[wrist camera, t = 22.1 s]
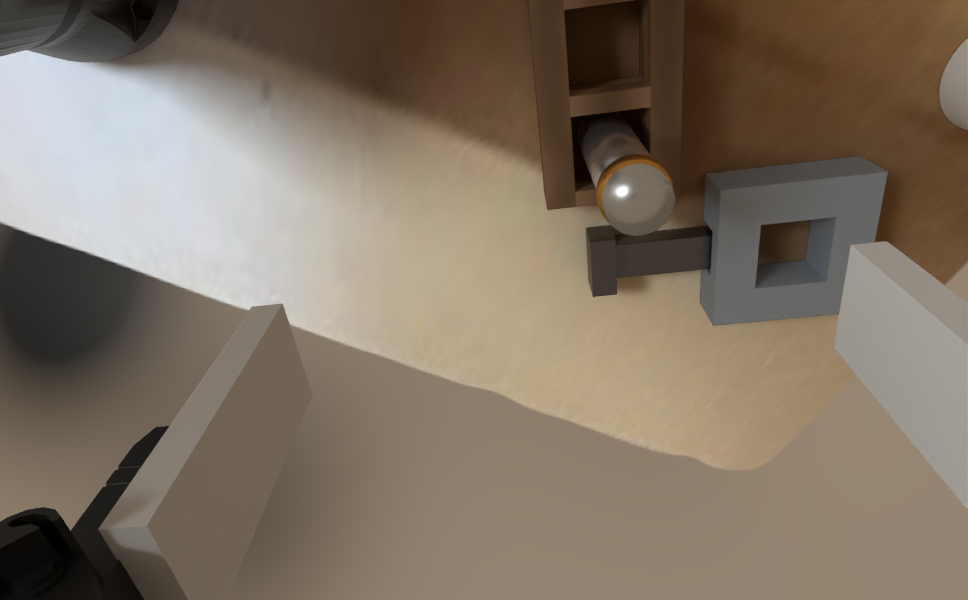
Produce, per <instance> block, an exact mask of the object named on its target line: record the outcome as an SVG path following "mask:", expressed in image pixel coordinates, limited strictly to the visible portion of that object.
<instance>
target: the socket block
mask: <svg viewBox="0 0 968 600" xmlns="http://www.w3.org/2000/svg"><path fill="white" fill-rule="evenodd" d="M887 174H888V171H886V170H884V169H883V168H881V167H879V166H877V165H876V164H874V163H872V162H871V161H869V160H867V159H865V158H864V157H862V156H855V157H846V158H837V159H829V160H820V161H811V162H802V163H794V164H785V165H776V166H768V167H759V168H750V169H741V170H733V171H724V172H715V173H706V177H705V199H704V221H705V222H706V224H707V225H708V226H709V228H710V229H711V230H712V232H713V236H712V255H711V269H701V290H700V303H701V305H702V307H703V309H704V310H705V312H706V314H707V316H708V318H709V319H710V321H711V323H712V325H713V326H715V325H726V324H736V323H747V322H758V321H768V320H779V319H789V318H800V317H810V316H821V315H832V314H839V312H840V306H841V300H842V294H843V288H844V282H845V277H846V271H847V265H848V259H849V253H850V247H851V245H855V244H865V243H874V242H875V237H876V232H877V227H878V222H879V216H880V211H881V206H882V201H883V195H884V190H885V185H886V180H887ZM804 220H811V223H810V231H809V238H808V245H807V253H806V260H801V261H791V262H781V263H771V264H761V265H757V263H758V252H759V241H760V230H761V225H767V224H776V223H785V222H795V221H804Z"/></svg>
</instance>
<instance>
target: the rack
mask: <svg viewBox="0 0 968 600" xmlns="http://www.w3.org/2000/svg"><path fill="white" fill-rule="evenodd" d="M626 1H633V0H528V9H529V20H530V32H531V43H532V55H533V67H534V78H535V90H536V101H537V113H538V125H539V136H540V148H541V159H542V171H543V182H544V193H545V199H546V205H547V210H551V209H560V208H569V207H578V206H586V205H595V204H598V202H597V199H596V188H595V185H594V183H593V180H592V178H591V175H590V173H583V174H574V162H573V146H572V129H571V117H576V116H584V115H592V114H600V113H608V112H616V111H624V110H632V109H640V141H641V143H642V144H643V146H644V147H645V149H646V150H647V151H648V153H649V154H650V156H651V157H652V158H653V159H655V160H656V161H658V162H659V163H660V164H661V165H662V166H663V168H664V169H665V171H666V172H667V173H668V175H669V176H670V178H671V181H672V184H673V190H674V194H675V196H676V195H680V176H681V135H682V94H683V52H684V11H685V0H639V76H638V77H630V78H622V79H615V80H607V81H599V82H591V83H584V84H576V85H569V80H568V64H567V48H566V31H565V15H564V10H568V9H575V8H582V7H590V6H597V5H604V4H611V3H619V2H626Z"/></svg>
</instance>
